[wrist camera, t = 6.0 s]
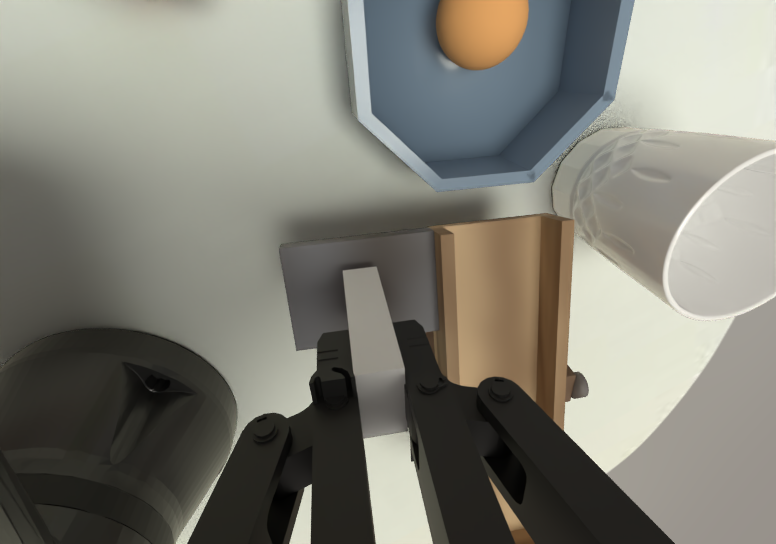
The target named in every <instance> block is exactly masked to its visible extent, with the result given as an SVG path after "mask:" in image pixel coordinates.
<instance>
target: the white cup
mask: <svg viewBox="0 0 776 544" xmlns="http://www.w3.org/2000/svg"><path fill="white" fill-rule="evenodd" d="M552 195H553V209H554V211H555V212H556V214H557V215H558V216H561V217H565V218H569V219H573V220H575V224H574V233H576V234H577V235H579V236H580V237H581V238H582V239H583V240H584V241H585V242H586V243H587V244H588V245H590V246H591V247H592V248H593V249H594V250H596V251H597V252H599V253H600V254H601V255H603V256H604V257H605V258H606V259H607V260H608V261H610V262H611V263H612V264H613V265H615V266H616V267H617V268H619V269H620V270H622V271H623V272H624V273H626V274H627V275H628V276H630V277H631V278H632V279H634V280H635V281H636V282H638V283H639V284H640V285H642V286H643V287H645V288H646V289H647V290H649V291H650V292H651V293H653V294H654V295H655V296H657V297H658V298H659V299H661V300H662V301H663V302H665V303H666V304H667V305H669V306H670V307H671V308H673V309H674V310H675V311H677V312H678V313H679V314H681V315H683V316H685V317H687V318H690V319H694V320H699V321H716V320H723V319H727V318H731V317H735V316H737V315H740V314H743V313H746V312H748V311H750V310H753V309H754V308H757V307H758V306H760V305H762V304H764V303H766V302H767V301H769V300H771V299H772V298H774V297H775V296H776V141H773V140H764V139H755V138H746V137H737V136H728V135H719V134H710V133H700V132H698V133H696V132H685V131H673V130H662V129H646V130H645V129H637V128H630V127H621V128H607V129H601V130H599V131H597V132H596V133H594V134H592V135H590V136H589V137H587V138H585V139H583V140H581V141H580V142H578V143H577V145H576V146H575V147H574V148H573V149H572V150H571V152H570V153H569V154H568V155H567V156H566V158H565V159H564V160H563V161H562V162H561V164H560V167H559V169H558V172H557V175H556V177H555V180H554V183H553V186H552Z"/></svg>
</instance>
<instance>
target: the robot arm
mask: <svg viewBox="0 0 776 544" xmlns="http://www.w3.org/2000/svg"><path fill="white" fill-rule="evenodd" d="M343 279H344V289H345V298H346V307H347V317H348V326H349V329H348V330H341V331H334V332H327V333H323V334H322V335H321V337H320V339H319V340H318V342H317V371H316V372H315V373H314V374H313V375H312V377H311V379H310V382H309V386H310V390H311V395H312V400H313V402H312V403H311V404H310V406H309V407H307V408H306V409H305V410H304V411H302V412H300V413H298V414H296V415H294V416H291V417H289V418H285V417H284V416H283V415H281V414H277V413H268V414H263V415H261V416H259V417H256V418H255V419H253V420H252V421H251V422H249V423H248V424H247V426H246V427H245V428H244V430H243V431H242V433H241V435H240V437H239V439H238V441H237V443H236V445H235V447H234V450H233V452H232V454H231V456H230V458H229V460H228V462H227V464H226V466H225V468H224V470H223V472H222V474H221V476H220V478H219V480H218V482H217V484H216V486H215V488H214V490H213V492H212V494H211V496H210V498H209V500H208V502H207V505H206V507H205V509H204V511H203V513H202V515H201V517H200V519H199V521H198V523H197V525H196V527H195V529H194V531H193V533H192V535H191V537H190V539H189V541H188V543H187V544H289V542H290V539H291V535H292V531H293V528H294V524H295V521H296V517H297V514H298V510H299V506H300V503H301V499H302V496H303V492H304V488H305V487H307V486H308V485H310V484H312V506H311V544H376V542H375V534H374V525H373V517H372V508H371V500H370V491H369V483H368V474H367V466H366V457H365V449H364V441H363V438H369V437H375V436H381V435H387V434H393V433H399V432H405V431H408V429H409V433H410V446H411V462H412V461H414V463H415V467H416V472H417V476H418V480H419V485H420V489H421V493H422V498H423V502H424V506H425V510H426V515H427V519H428V523H429V528H430V532H431V536H432V541H433V544H515V541H514V539H513V536H512V534H511V531H510V529H509V526H508V524H507V521H506V519H505V516H504V514H503V512H502V509H501V507H500V504H499V502H498V499H497V497H496V494H495V492H494V489H493V487H492V484H491V482H490V479H491V480H492V482H493V483H494V485H495V486H496V488H497V489H498V491H499V492H500V493H501V495H502V496H503V498H504V499H505V501H506V502H507V504H508V505H509V507H510V508H511V509H512V511H513V512H514V514H515V515H516V517H517V518H518V520H519V521H520V522H521V524H522V525H523V527H524V528H525V530H526V531H527V533H528V534H529V536H530V537H531V538H532V540H533V541H534V543H535V544H675V543H674V542H673V541H672V540H671V539H670V538H669V537H668V536H667V535H666V534H665V533H664V532H663V531H662V530H661V529H660V528H659V527H658V526H657V525H656V524H655V523H654V522H653V521H652V520H651V519H650V518H649V517H648V516H647V515H646V514H645V513H644V512H643V511H642V510H641V509H640V508H639V507H638V506H637V505H636V504H635V503H634V502H633V501H632V500H631V499H630V498H629V497H628V496H627V495H626V494H625V493H624V492H623V491H622V490H621V489H620V488H619V487H618V486H617V485H616V484H615V483H614V482H613V481H612V480H611V478H610V477H608V475H607V474H606V473H605V472H604V471H603V470H602V469H601V468H600V467H599V466H598V465H597V464H596V463H595V462H594V461H593V460H592V459H591V458H590V457H589V456H588V455H587V454H586V453H585V452H584V451H583V450H582V449H581V448H580V447H579V446H578V445H577V444H576V443H575V442H574V441H573V440H572V439H571V438H570V437H569V436H568V435H567V434H566V433H565V432H564V431H563V430H562V429H561V428H560V427H559V426H558V425H557V424H556V423H555V422H554V421H553V420H552V419H551V418H550V417H549V416H548V415H547V414H546V413H545V412H544V411H543V410H542V409H541V408H540V407H539V406H538V405H537V404H536V403H535V402H534V401H533V400H532V399H531V397H530V396H529V395H528V394H527V393H526V392H525V391H524V390H523V389H522V388H521V387H520V386H519V385H517V384H516V383H515V382H513V381H512V380H509V379H507V378H504V377H496V376H494V377H489V378H486V379H484V380H483V381H481V382H480V384H479V386H478V387H468V386H461V385H457V384H455V383H452V382H450V381H449V380H448V379H447V377H446V376H444V375H443V374H442V373H441V371H440V369H439V366H438V364H437V361H436V359H435V356H434V354H433V351H432V348H431V346H430V344H429V341H428V338H427V336H426V333H425V331H424V328H423V326H422V325H420V324H419V323H418V322H417V321H416V320H415V319H414V320H407V321H400V322H392V320H391V317H390V313H389V310H388V306H387V303H386V299H385V295H384V292H383V288H382V285H381V281H380V277H379V274H378V270H377V267H368V268H359V269H351V270H343ZM407 424H408V427H407ZM236 425H237V408H236V403H235V400H234V397H233V395H232V392H231V390H230V389H229V387H228V385H227V384H226V382H225V381H224V380H223V378H222V377H221V376H220V375H219V374H218V373H217V371H215V370H214V369H213V368H212V367H211V366H210V365H209V364H208V363H206V362H205V361H204V360H202V359H201V358H200V357H198V356H197V355H195V354H194V353H192V352H190V351H188V350H186V349H185V348H183V347H181V346H178V345H176V344H174V343H172V342H169V341H167V340H164V339H161V338H158V337H154V336H151V335H147V334H143V333H139V332H133V331H127V330H118V329H83V330H75V331H69V332H64V333H59V334H56V335H52V336H49V337H46V338H44V339H41V340H39V341H36V342H34V343H32V344H30V345H29V346H27V347H25V348H24V349H22V350H21V351H19V352H18V353H17V354H15V355H14V356H13V357H12V358H11V359H10V360H9V361H8V362H6V363H5V364H4V365H3V366H2V367H1V368H0V544H176V541H177V539H178V537H179V535H180V533H181V532H182V530H183V529H184V527H185V526H186V524H187V523H188V521H189V520H190V518H191V517H192V515H193V514H194V512H195V511H196V509H197V507H198V506H199V504H200V503H201V501H202V500H203V498H204V496H205V495H206V493H207V492H208V490H209V488H210V487H211V485H212V483H213V482H214V480H215V478H216V477H217V476H218V474H219V473H220V471H221V470H222V468H223V467H224V465H225V463H226V461H227V458H228V456H229V453H230V450H231V447H232V443H233V438H234V434H235V430H236ZM488 476H489V477H488ZM489 478H490V479H489Z"/></svg>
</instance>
